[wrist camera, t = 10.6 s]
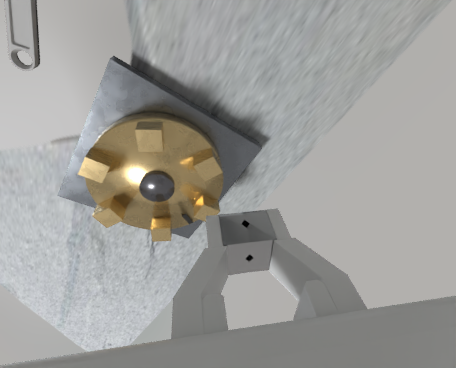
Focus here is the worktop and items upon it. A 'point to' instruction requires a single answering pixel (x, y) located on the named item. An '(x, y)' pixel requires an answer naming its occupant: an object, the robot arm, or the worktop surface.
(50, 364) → the robot arm
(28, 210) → the worktop surface
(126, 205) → the ring nut
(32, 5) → the adjustable wrench
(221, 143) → the base plate
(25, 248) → the worktop surface
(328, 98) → the worktop surface
